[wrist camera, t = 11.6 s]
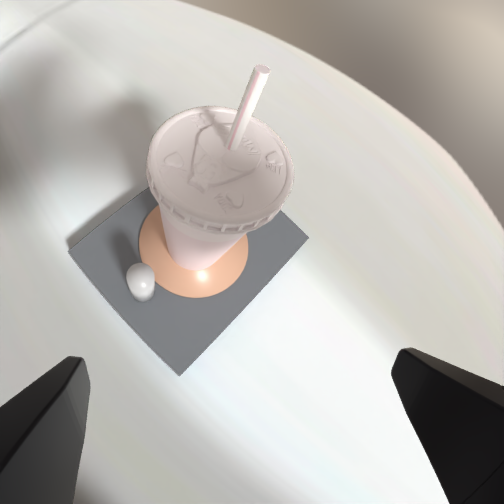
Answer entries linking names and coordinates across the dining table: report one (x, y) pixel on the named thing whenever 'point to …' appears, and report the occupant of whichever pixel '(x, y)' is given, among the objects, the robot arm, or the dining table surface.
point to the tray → (178, 278)
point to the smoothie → (217, 176)
